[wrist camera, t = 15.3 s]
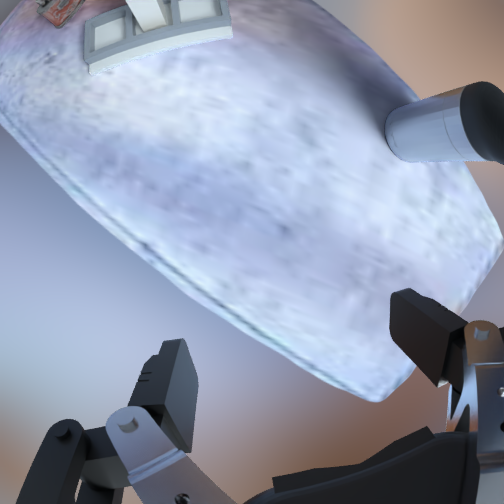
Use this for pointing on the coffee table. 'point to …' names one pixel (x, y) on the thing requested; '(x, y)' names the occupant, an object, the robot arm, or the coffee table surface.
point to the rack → (152, 32)
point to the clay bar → (149, 13)
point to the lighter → (58, 10)
